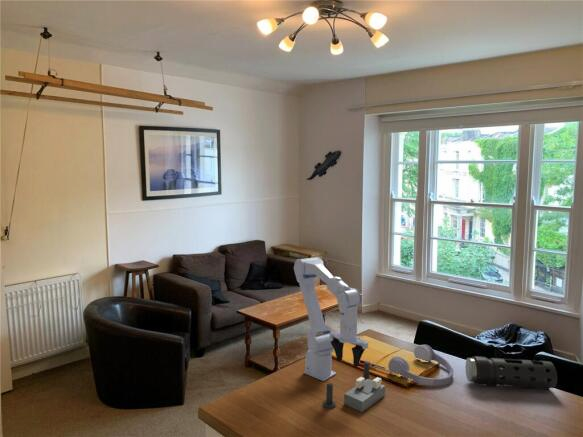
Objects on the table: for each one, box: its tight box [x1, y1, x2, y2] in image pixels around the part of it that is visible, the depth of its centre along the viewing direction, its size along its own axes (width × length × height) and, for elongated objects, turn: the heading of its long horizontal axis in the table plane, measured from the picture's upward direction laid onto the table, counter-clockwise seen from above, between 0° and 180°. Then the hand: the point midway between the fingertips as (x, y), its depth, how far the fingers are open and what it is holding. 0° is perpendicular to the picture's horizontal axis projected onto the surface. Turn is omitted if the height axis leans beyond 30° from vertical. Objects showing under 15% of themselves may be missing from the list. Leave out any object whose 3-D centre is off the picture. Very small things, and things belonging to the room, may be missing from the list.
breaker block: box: [343, 376, 386, 413], centre depth 145 cm, size 7×14×6 cm, turn 138°
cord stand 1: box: [322, 383, 336, 410], centre depth 141 cm, size 4×4×7 cm
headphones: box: [388, 344, 455, 387], centre depth 164 cm, size 22×7×20 cm
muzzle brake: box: [465, 355, 558, 391], centre depth 155 cm, size 10×28×10 cm, turn 84°
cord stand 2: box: [362, 361, 373, 381], centre depth 157 cm, size 4×4×7 cm
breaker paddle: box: [355, 376, 365, 389], centre depth 146 cm, size 2×3×2 cm, turn 138°
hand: (347, 363), depth 149 cm, fingers open, 6 cm apart
